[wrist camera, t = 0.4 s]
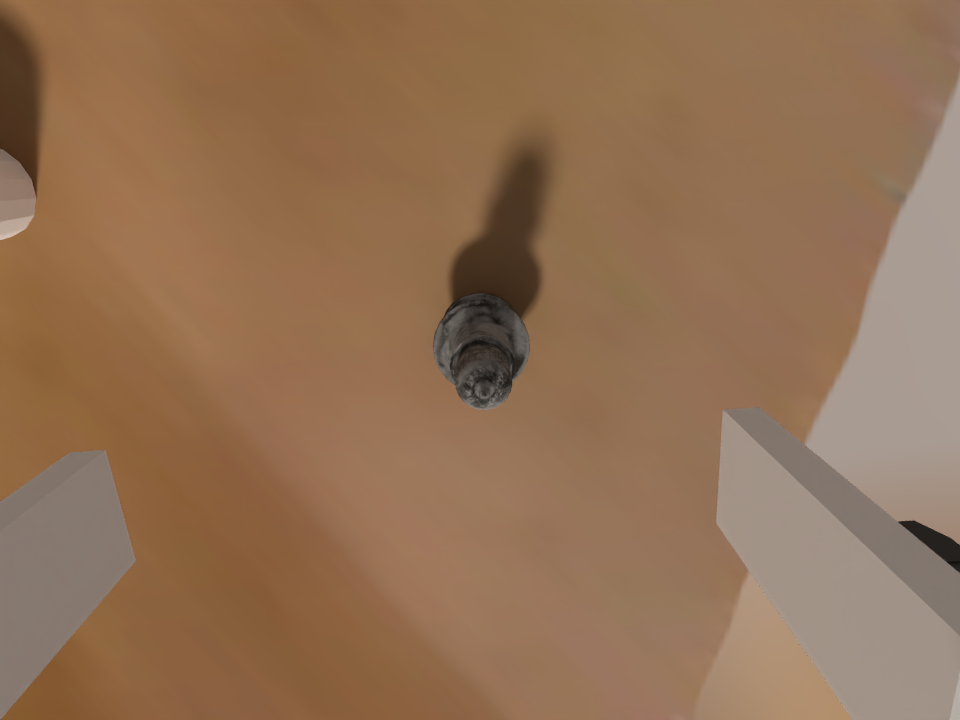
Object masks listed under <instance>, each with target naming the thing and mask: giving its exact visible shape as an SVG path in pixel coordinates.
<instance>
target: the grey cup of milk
mask: <svg viewBox="0 0 960 720" xmlns="http://www.w3.org/2000/svg"><path fill="white" fill-rule="evenodd" d="M35 206H36V194H35V191H34V187H33V183H32V180H31V178H30V177H29V175H28V174H27V172H26V171H25V169H24V168H23V166H22V165H21V163H20V162H19V161H17V160H16V159H15V158H13V157H12V156H11V155H10V154H8V153H7V152H6V151H4V150H3V149H0V240H2V239H6V238H9V237H12V236H14V235H16V234H17V233H19V232H21V231H23V230H24V229H26V227H27V226H28V224H29V223H30V221H31V220H32V218H33V217H34V214H35Z"/></svg>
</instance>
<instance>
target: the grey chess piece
mask: <svg viewBox="0 0 960 720" xmlns="http://www.w3.org/2000/svg"><path fill="white" fill-rule="evenodd" d="M433 350H434V358H435V360H436V363H437V365H438V368H439V370H440V371H441V372H442V374H443V375H444V376H445V377H446V379H448V380H449V381H450V382H451V383H453V384H454V385H455V386H456V390H457V393H458V395H459V397H460V398H461V399H462V400H463V402H464V403H466V404H467V405H468V406H470V407H472V408H475V409H480V410H488V409H492V408H495V407H497V406H499V405H501V404H502V403H503V402H504V401H505V400H506V399H507V397H508V395H509V393H510V391H511V387H512V382H513V381H514V380H515V379H516V378H517V377H518V376H519V374H520V373H521V372H522V371H523V369H524V367H525V365H526V363H527V360H528V356H529V351H530V344H529V335H528V333H527V330H526V327H525V324H524V323H523V322H522V320H521V319H520V317H519V316H518V315H517V314H516V313H515V312H514V310H513V309H512V308H511V306H510V305H509V304H507V303H506V302H505V301H504V300H503V299H501V298H498V297H496V296H494V295H491V294H484V293H478V294H471V295H468V296H465V297H462V298H461V299H459V300H458V301H456V302H455V303H454V304H452V306H451V307H450V308H449V309H448V311H447V312H446V314H445V316H444V318H443V319H442V320H441V321H440V323H439V325H438V327H437V330H436V332H435V335H434V342H433Z"/></svg>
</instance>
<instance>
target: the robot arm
mask: <svg viewBox="0 0 960 720" xmlns="http://www.w3.org/2000/svg"><path fill="white" fill-rule="evenodd" d="M716 524H717V525H718V527H719V528H720V529H721V531H722V532H723V534H724V535H725V537H726V538H727V540H728V541H729V542H730V544H731V545H732V547H733V548H734V550H735V551H736V553H737V554H738V555H739V557H740V558H741V560H742V561H743V563H744V564H745V566H746V567H747V568H748V570H749V571H750V573H751V574H752V576H753V577H754V578H755V580H756V581H757V583H758V584H759V586H760V587H761V589H762V590H763V591H764V593H765V594H766V596H767V597H768V599H769V600H770V602H771V603H772V604H773V606H774V607H775V609H776V610H777V611H778V613H779V615H780V616H781V617H782V619H783V620H784V622H785V623H786V625H787V626H788V628H789V629H790V630H791V632H792V633H793V635H794V636H795V638H796V639H797V640H798V642H799V643H800V645H801V646H802V648H803V649H804V651H805V652H806V653H807V655H808V656H809V658H810V659H811V661H812V662H813V664H814V665H815V667H816V668H817V669H818V671H819V672H820V674H821V675H822V677H823V678H824V680H825V681H826V682H827V684H828V685H829V687H830V688H831V690H832V691H833V692H834V694H835V695H836V697H837V698H838V700H839V701H840V703H841V704H842V706H843V707H844V708H845V710H846V711H847V713H848V714H849V716H850V717H851V719H852V720H960V545H959V544H957V543H956V542H955V541H954V540H952V539H951V538H949V537H947V536H945V535H943V534H941V533H939V532H937V531H934V530H933V529H931V528H928V527H926V526H924V525H922V524H920V523H918V522H916V521H901V522H897V521H896V520H895V519H894V518H892V517H891V516H890V515H889V514H887V513H886V512H885V511H884V510H883V509H882V508H880V507H879V506H878V505H877V504H875V503H874V502H873V501H872V500H871V499H870V498H868V497H867V496H866V495H864V494H863V493H862V492H861V491H860V490H859V489H857V488H856V487H855V486H854V485H853V484H851V483H850V482H849V481H848V480H847V479H845V478H844V477H843V476H842V475H840V474H839V473H838V472H837V471H836V470H834V469H833V468H832V467H831V466H830V465H828V464H827V463H826V462H825V461H824V460H822V459H821V458H820V457H819V456H818V455H816V454H815V453H814V452H813V451H811V450H810V449H809V448H808V447H807V446H805V445H804V444H803V443H802V442H801V441H799V440H798V439H797V438H796V437H795V436H793V435H792V434H791V433H790V432H788V431H787V430H786V429H785V428H784V427H782V426H781V425H780V424H779V423H778V422H776V421H775V420H774V419H773V418H772V417H770V416H769V415H768V414H767V413H766V412H764V411H763V410H762V409H761V408H759V407H756V408H741V409H726V410H723V418H722V435H721V452H720V469H719V486H718V503H717V520H716ZM135 561H136V560H135V556H134V553H133V549H132V545H131V542H130V538H129V534H128V531H127V527H126V524H125V520H124V516H123V513H122V509H121V505H120V502H119V498H118V494H117V491H116V487H115V483H114V480H113V476H112V472H111V469H110V465H109V461H108V458H107V454H106V450H101V451H86V452H71V453H68V454H67V455H65V456H64V457H63V458H61V459H60V460H58V461H57V462H56V463H54V464H53V465H51V466H50V467H49V468H47V469H46V470H44V471H43V472H41V473H40V474H39V475H37V476H36V477H34V478H33V479H32V480H30V481H29V482H27V483H26V484H25V485H23V486H22V487H20V488H19V489H17V490H16V491H15V492H13V493H12V494H10V495H9V496H8V497H6V498H5V499H3V500H2V501H1V502H0V719H1V718H2V717H3V716H4V715H5V714H6V712H7V711H8V710H9V709H10V708H11V707H12V705H13V704H14V703H15V702H16V701H17V700H18V698H19V697H20V696H21V695H22V694H23V693H24V691H25V690H26V689H27V688H28V687H29V685H30V684H31V683H32V682H33V681H34V680H35V678H36V677H37V676H38V675H39V674H40V673H41V671H42V670H43V669H44V668H45V667H46V666H47V664H48V663H49V662H50V661H51V660H52V659H53V657H54V656H55V655H56V654H57V653H58V651H59V650H60V649H61V648H62V647H63V646H64V644H65V643H66V642H67V641H68V640H69V639H70V637H71V636H72V635H73V634H74V633H75V632H76V630H77V629H78V628H79V627H80V626H81V625H82V623H83V622H84V621H85V620H86V619H87V617H88V616H89V615H90V614H91V613H92V612H93V610H94V609H95V608H96V607H97V606H98V605H99V603H100V602H101V601H102V600H103V599H104V598H105V596H106V595H107V594H108V593H109V592H110V591H111V589H112V588H113V587H114V586H115V585H116V583H117V582H118V581H119V580H120V579H121V578H122V576H123V575H124V574H125V573H126V572H127V571H128V569H129V568H130V567H131V566H132V565H133V564H134V562H135Z"/></svg>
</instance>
